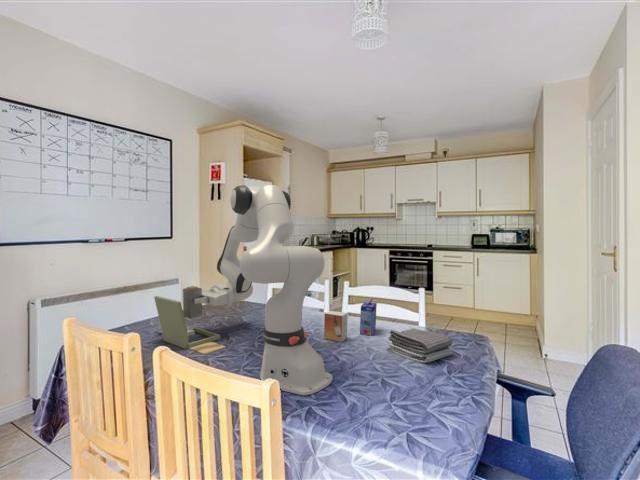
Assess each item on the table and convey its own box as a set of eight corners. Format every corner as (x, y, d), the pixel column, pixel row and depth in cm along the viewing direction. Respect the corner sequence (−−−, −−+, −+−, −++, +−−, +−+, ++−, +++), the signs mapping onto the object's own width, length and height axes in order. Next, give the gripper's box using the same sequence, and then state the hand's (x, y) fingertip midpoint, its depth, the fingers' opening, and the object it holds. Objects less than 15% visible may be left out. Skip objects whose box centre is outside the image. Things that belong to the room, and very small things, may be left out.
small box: (323, 339, 135) (323, 313, 135) (329, 335, 140) (330, 310, 140) (342, 342, 131) (342, 315, 131) (347, 338, 136) (347, 312, 136)
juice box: (372, 336, 139) (373, 301, 139) (359, 334, 141) (359, 300, 141) (376, 329, 149) (376, 296, 148) (364, 328, 150) (364, 295, 150)
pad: (225, 347, 125) (225, 346, 125) (204, 354, 118) (204, 353, 118) (211, 342, 130) (211, 341, 130) (189, 349, 123) (190, 347, 123)
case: (220, 338, 135) (220, 294, 134) (178, 351, 121) (178, 302, 120) (195, 330, 145) (195, 289, 145) (154, 341, 131) (154, 296, 130)
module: (202, 315, 133) (201, 286, 133) (190, 318, 129) (190, 288, 129) (194, 313, 136) (194, 285, 136) (183, 316, 132) (182, 287, 132)
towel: (427, 367, 109) (428, 343, 109) (384, 350, 123) (384, 329, 123) (453, 356, 118) (453, 334, 118) (410, 342, 133) (410, 322, 133)
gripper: (204, 285, 149) (174, 289, 138) (234, 290, 137) (204, 295, 126) (204, 299, 149) (175, 304, 138) (234, 305, 137) (204, 312, 126)
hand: (189, 300), depth 132 cm, fingers closed on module, 5 cm apart
